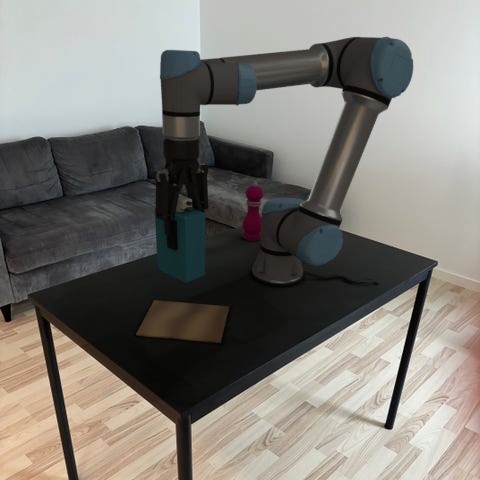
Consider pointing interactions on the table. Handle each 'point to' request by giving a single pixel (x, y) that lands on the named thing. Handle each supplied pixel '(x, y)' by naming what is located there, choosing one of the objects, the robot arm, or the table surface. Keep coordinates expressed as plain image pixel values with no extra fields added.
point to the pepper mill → (253, 213)
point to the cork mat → (184, 321)
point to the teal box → (183, 243)
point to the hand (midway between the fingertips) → (183, 244)
